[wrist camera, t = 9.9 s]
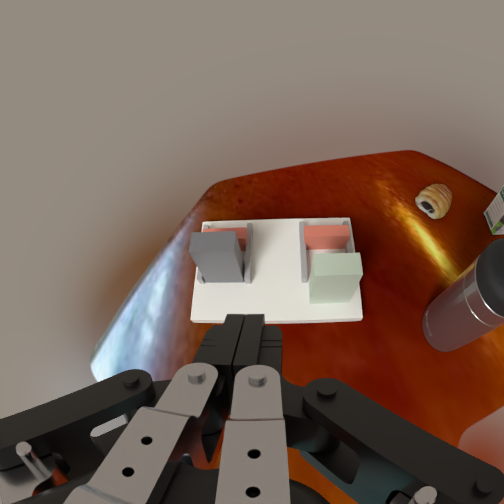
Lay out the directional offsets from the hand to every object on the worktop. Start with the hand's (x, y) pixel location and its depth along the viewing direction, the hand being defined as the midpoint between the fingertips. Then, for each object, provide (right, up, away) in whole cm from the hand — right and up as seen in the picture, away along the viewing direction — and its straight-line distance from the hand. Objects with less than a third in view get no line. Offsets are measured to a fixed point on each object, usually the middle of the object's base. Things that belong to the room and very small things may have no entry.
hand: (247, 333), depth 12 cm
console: (+4, 0, +38) cm, 38 cm away
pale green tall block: (+12, -3, +33) cm, 35 cm away
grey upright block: (-4, 0, +37) cm, 37 cm away
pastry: (+37, +13, +41) cm, 57 cm away
